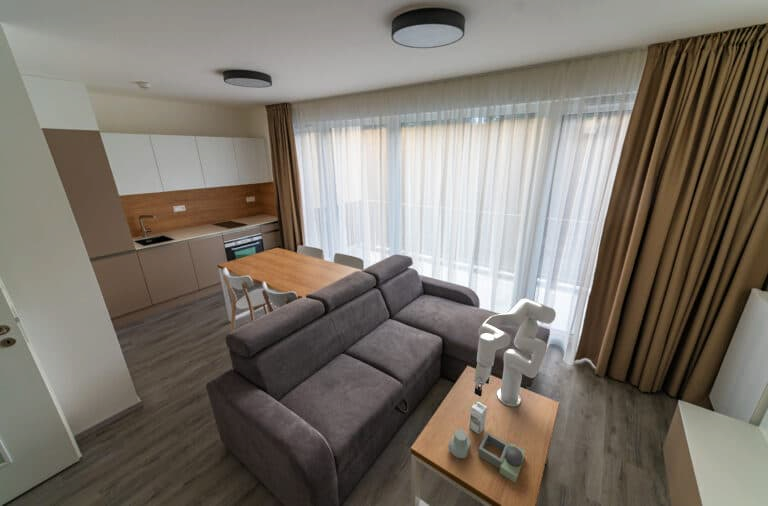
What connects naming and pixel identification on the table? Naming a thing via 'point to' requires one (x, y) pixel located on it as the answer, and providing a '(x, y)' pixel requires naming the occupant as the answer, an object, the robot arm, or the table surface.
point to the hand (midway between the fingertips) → (481, 388)
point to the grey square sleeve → (503, 456)
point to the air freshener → (459, 444)
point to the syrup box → (478, 417)
